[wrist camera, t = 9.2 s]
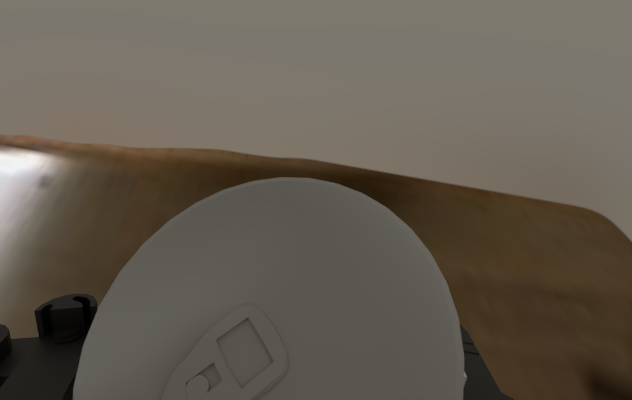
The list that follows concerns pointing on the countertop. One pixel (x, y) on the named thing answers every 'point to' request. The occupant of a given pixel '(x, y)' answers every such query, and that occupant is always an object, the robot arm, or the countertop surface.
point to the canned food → (277, 305)
